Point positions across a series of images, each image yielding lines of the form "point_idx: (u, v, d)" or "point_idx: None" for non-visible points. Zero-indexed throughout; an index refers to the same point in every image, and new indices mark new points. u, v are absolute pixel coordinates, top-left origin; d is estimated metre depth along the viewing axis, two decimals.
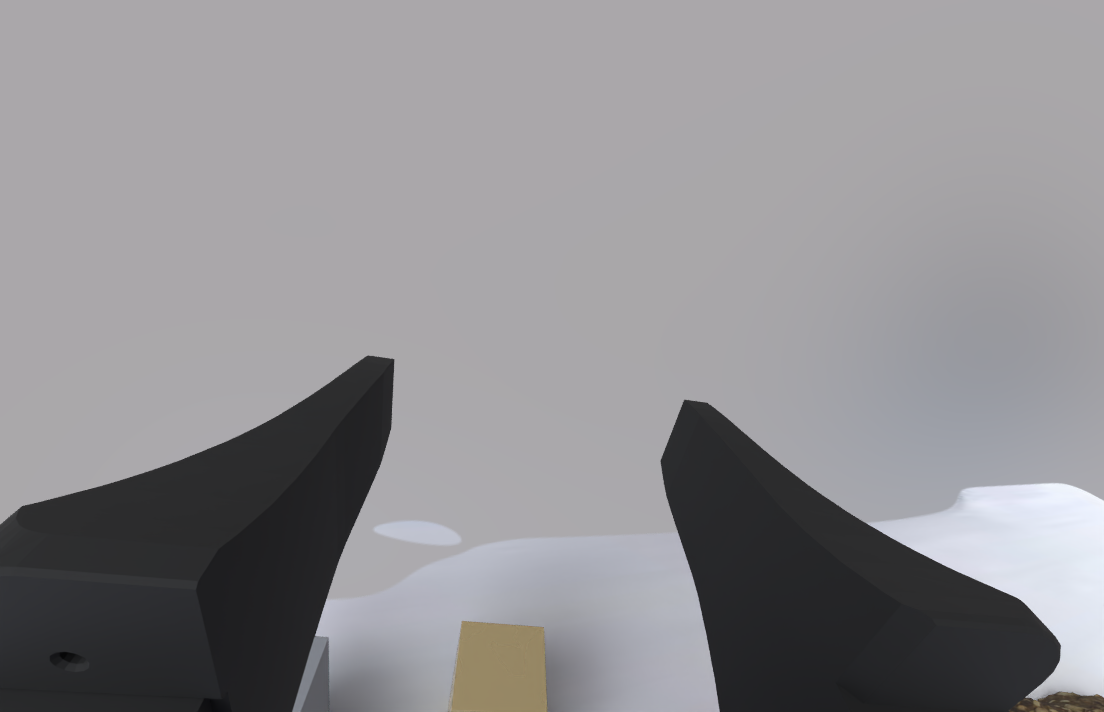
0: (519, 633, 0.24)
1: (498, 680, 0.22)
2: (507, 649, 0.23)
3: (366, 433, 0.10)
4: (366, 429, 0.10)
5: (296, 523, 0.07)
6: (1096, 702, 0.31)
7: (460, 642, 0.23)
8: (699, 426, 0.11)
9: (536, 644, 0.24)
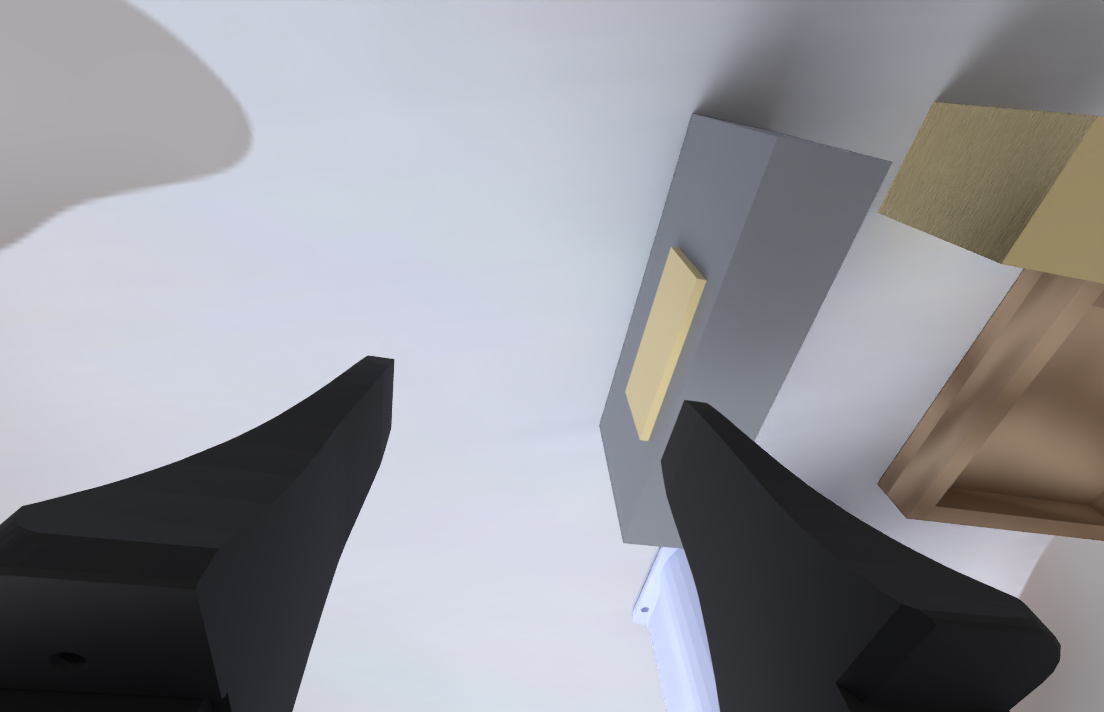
0: None
1: (1087, 232, 0.14)
2: None
3: (366, 433, 0.10)
4: (366, 429, 0.10)
5: (296, 523, 0.07)
6: None
7: (1071, 161, 0.13)
8: (699, 426, 0.11)
9: None
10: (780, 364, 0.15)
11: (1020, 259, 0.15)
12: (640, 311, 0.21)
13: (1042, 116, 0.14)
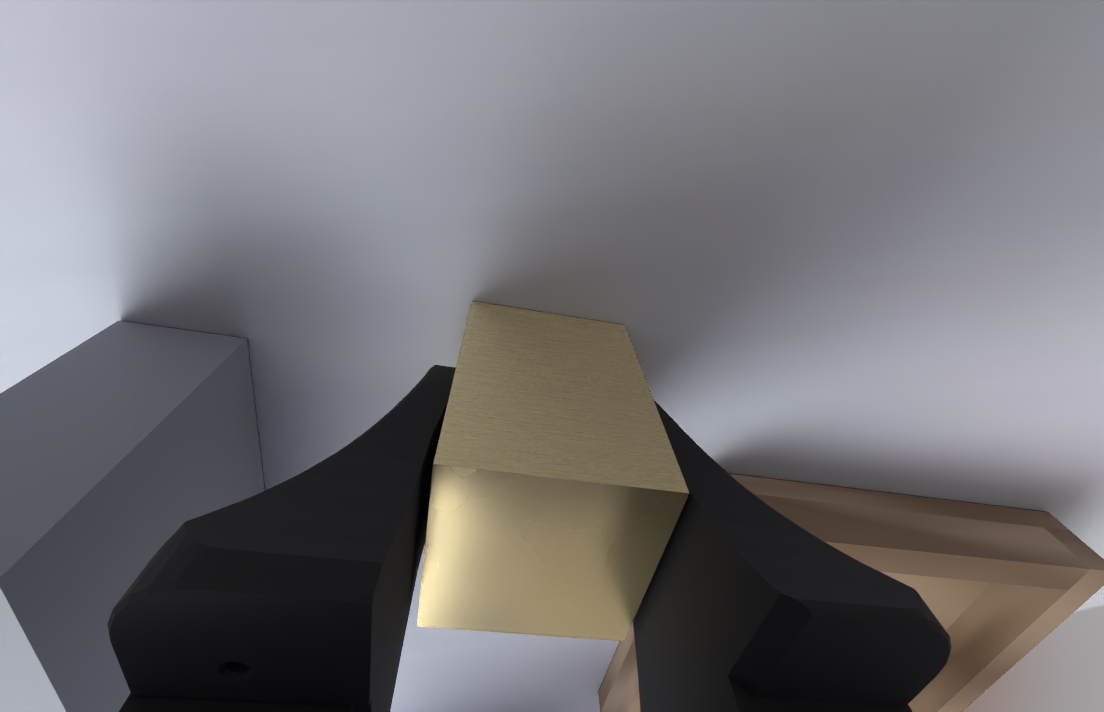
0: (609, 503, 0.08)
1: (530, 590, 0.09)
2: (564, 537, 0.08)
3: None
4: None
5: (409, 534, 0.07)
6: None
7: (431, 517, 0.08)
8: None
9: (650, 529, 0.08)
10: None
11: (443, 621, 0.09)
12: None
13: None
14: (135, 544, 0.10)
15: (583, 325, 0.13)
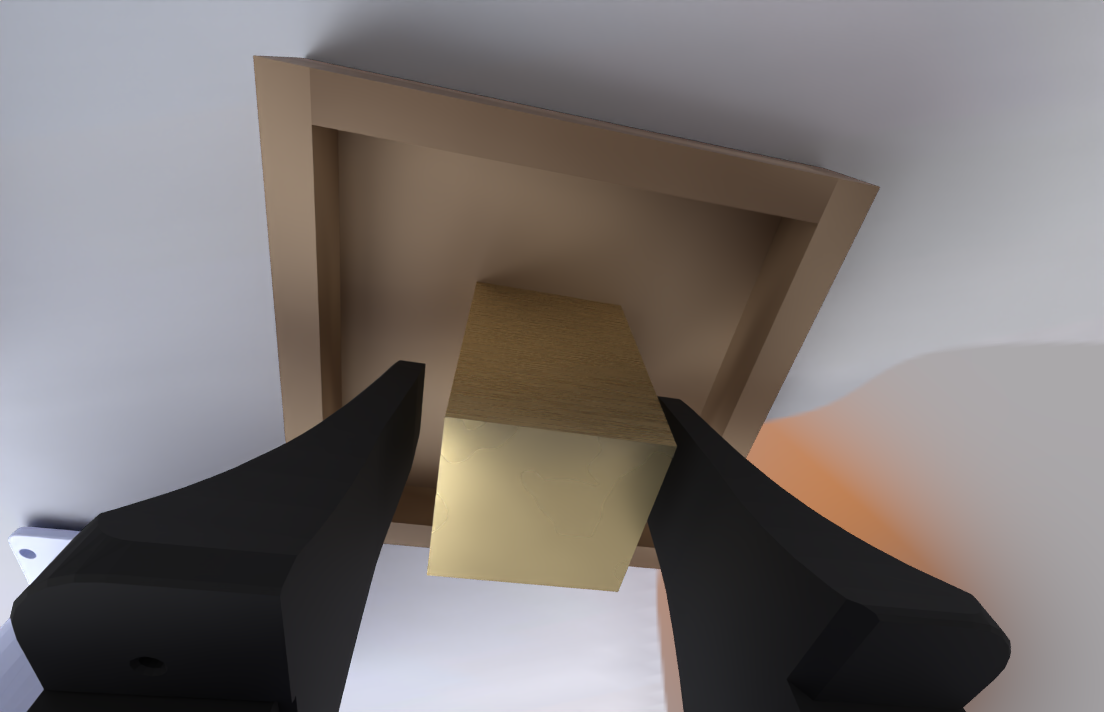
0: (604, 456, 0.09)
1: (531, 541, 0.10)
2: (563, 488, 0.09)
3: (402, 437, 0.10)
4: (402, 433, 0.10)
5: (349, 528, 0.07)
6: None
7: (442, 467, 0.09)
8: (669, 422, 0.11)
9: (641, 482, 0.09)
10: None
11: (451, 570, 0.10)
12: None
13: None
14: None
15: (581, 304, 0.13)
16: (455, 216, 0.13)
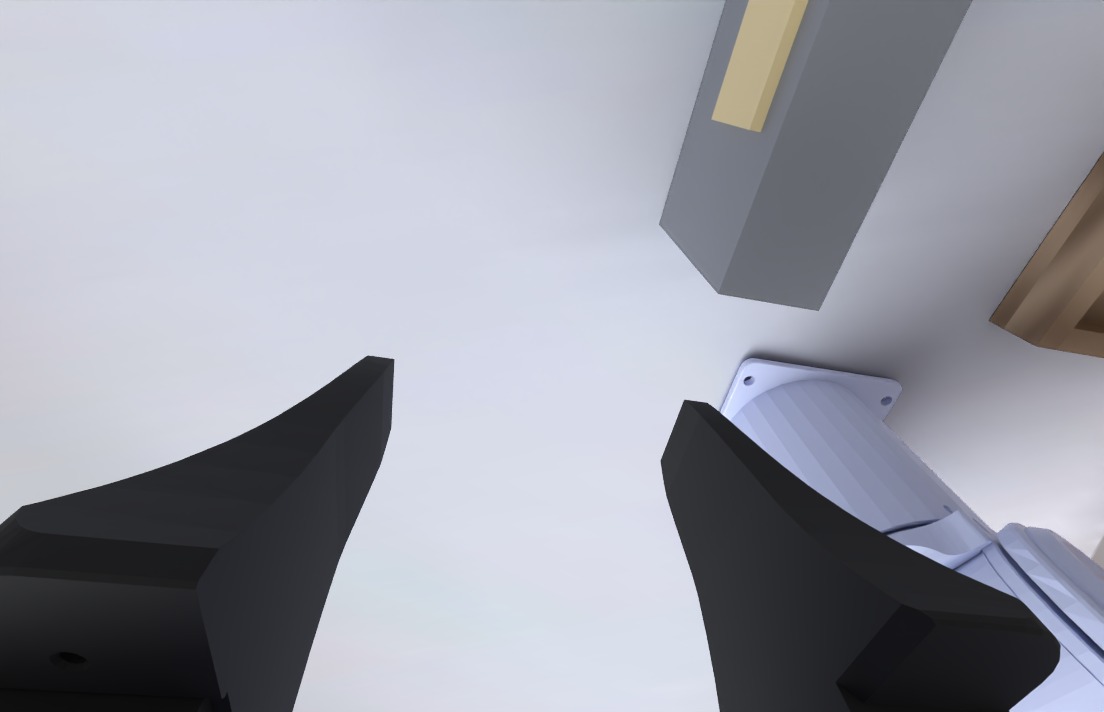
0: None
1: None
2: None
3: (366, 433, 0.10)
4: (366, 429, 0.10)
5: (296, 523, 0.07)
6: None
7: None
8: (699, 426, 0.11)
9: None
10: None
11: None
12: (728, 23, 0.16)
13: None
14: None
15: None
16: None
